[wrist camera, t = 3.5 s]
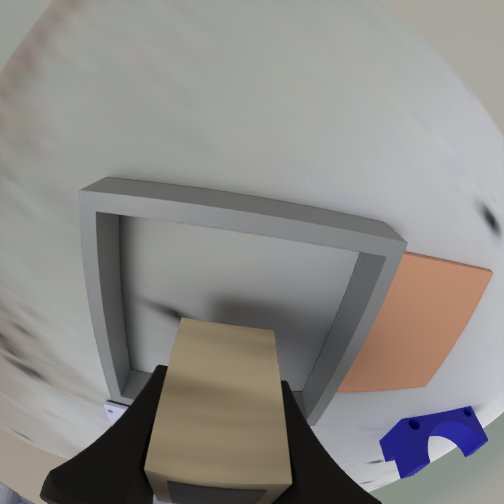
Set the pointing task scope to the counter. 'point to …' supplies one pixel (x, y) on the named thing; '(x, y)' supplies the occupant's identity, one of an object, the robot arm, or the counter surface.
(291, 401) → the robot arm
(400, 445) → the cable clip
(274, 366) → the part block
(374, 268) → the parts tray
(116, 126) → the counter surface
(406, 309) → the place mat
